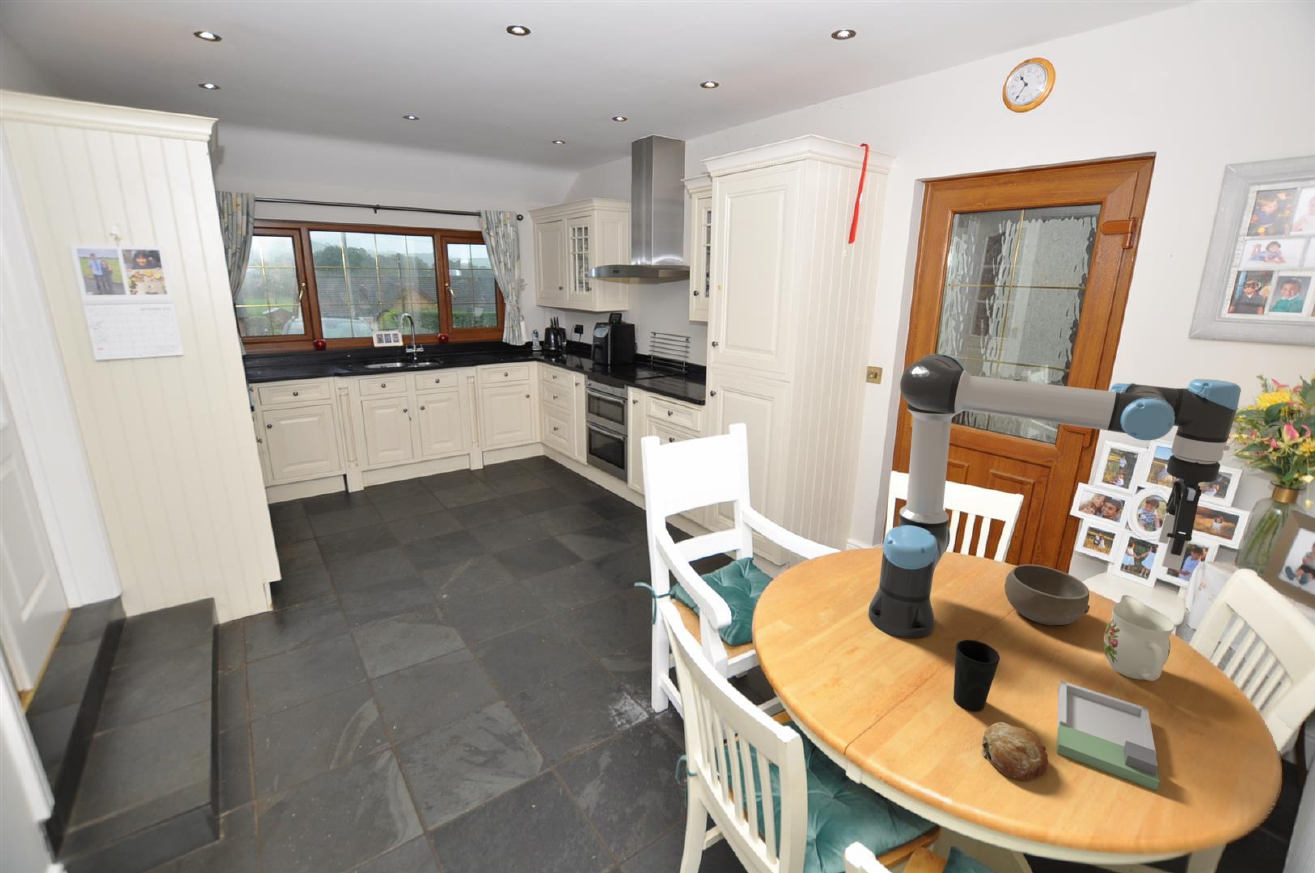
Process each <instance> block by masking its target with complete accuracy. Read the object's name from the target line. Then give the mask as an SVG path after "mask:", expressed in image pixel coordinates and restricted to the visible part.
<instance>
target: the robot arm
mask: <svg viewBox="0 0 1315 873" xmlns="http://www.w3.org/2000/svg"><path fill="white" fill-rule="evenodd" d="M899 384H900V385H899V386H900V387H899V389H900V392H901V395H902V397H903V399H904V400H905V402H907V408H906V409H907V411H908V412H909V413H910V414H911V415H912V416H913V419H912V430H911V442H910V443H911V444H910V454H909V456H910V457H909V468H908V481H907V492H906V494H907V495H906V504H905V505H904V506H902V507H901V508H900V509H899V515H898V516H899V517H898V526H895V527H892V528H891V529H889V530H888V531H887V533H886V534H885V537H884V540H883V544H882V559H881V568H880V574H879V575H880V576H879V583H878V584H879V585H878V588H877V591H876V592H875V594H874V596H873V597H872V600H871V601H870V603H869V606H868V619H869V620H870V622H871V623H872V624H873V625H874V626H875V627H877V628H878V629H879V630H881V631H883V632H885V633H887V634H889V635H892V636H895V637H899V638H906V639H922V638H926V637H928V636H930V634H932V633H933V631H934V626H935V616H934V612H933V606H932V602H931V592H932V586H933V579H934V573H935V570H936V568H937V566H938V564H939V562H940V561H941V559H942V557H943V555H944V554H945V552H946V551H947V549H948V548H949V545H950V542H951V530H950V527H949V520H950V517H949V516H950V515H949V513H948V512H947V511H946V510H944V503H945V492H946V481H947V472H948V470H947V469H948V463H949V462H948V461H949V460H948V459H949V450H950V449H949V448H950V439H951V430H952V428H951V427H952V419H953V418H954V417H956V415H959V414H961V413H962V412H964V411H965V412H972V413H980V414H986V415H987V414H988V415H993V416H1001V417H1009V418H1016V419H1024V420H1030V421H1031V420H1032V421H1037V422H1043V423H1051V424H1059V425H1066V426H1074V427H1080V428H1087V429H1094V430H1102V431H1109V432H1114V433H1121V434H1127V435H1128V436H1130V437H1132V438H1134V439H1136V440H1140V441H1147V442H1148V441H1156V440H1158V439H1162V438H1163V437H1165V436H1167V434H1169V433H1170V432H1171V430H1172V429H1173V428H1174V427H1177V430H1176V433H1175V436H1174V439H1173V442H1172V446H1171V450H1170V451H1171V453H1172V454H1171V455H1170V456H1169V459H1168V462H1167V466H1166V473H1167V474H1168V475H1170V476H1172V477H1175V481H1174V482H1173V484H1172V489H1171V492H1170V494H1169V497H1168V500H1167V503H1166V504H1165V506H1166V509H1165V511H1166V513H1164V518H1163V522H1162V526H1161V530H1160V532H1159V537H1158V543H1161V544H1166V545H1167V546H1166V549H1165V552H1164V557H1163V560H1162V564H1161V566H1162V568H1163V567H1164V568H1168V569H1172V570H1176V571H1181V569H1182V568H1181V567H1182V564H1183V561H1184V557H1185V554H1186V551H1187V546H1188V543H1189V542H1191V541H1192V540H1193V537H1192V536H1193V531H1194V527H1195V526H1194V525H1195V520H1196V515H1197V510H1198V506H1199V500H1200V497H1201V496H1202V489H1201V486H1200V485H1199V484H1200V483H1213V482H1215V481H1217V479H1218V478H1217V477H1218V475H1219V472H1220V469H1221V464H1220V461H1222V460H1223V457H1224V453H1225V452H1224V451H1230V445H1227V442H1228V439H1229V436H1230V433H1231V430H1232V428H1233V427H1232V426H1233V424H1234V420H1235V417H1236V413H1237V411H1238V409H1239V407H1238V406H1239V402H1240V398H1241V392H1242V388H1241V387H1240V385H1239V384H1237V383H1234V382H1231V381H1226V380H1219V379H1209V378H1208V379H1206V378H1205V379H1204V378H1197V379H1192V380H1190V382H1189V384H1188V386H1186V388H1183V387H1182V388H1180V387H1179V388H1175V387H1165V386H1156V385H1146V384H1139V383H1138V384H1136V383H1132V382H1131V383H1120V382H1119V383H1118V382H1117V383H1114V384H1112V385H1111V386H1110V388H1109V389H1110V390H1104V389H1103V390H1102V389H1092V388H1086V387H1085V388H1083V387H1074V386H1065V385H1057V384H1056V385H1055V384H1047V383H1039V382H1037V383H1036V382H1029V381H1023V380H1022V381H1021V380H1020V381H1019V380H1012V379H1003V378H994V377H986V376H975V375H971V374H970V373H969V372H968V371H967V370H966V369H965V367H964V365H963V364H962V363H961V362H960V360H959V359H957V358H956V357H954V356H952V355H949V354H946V353H945V354H944V353H935V354H934V353H933V354H932V353H931V354H928V355H925V356H924V357H922V358H921V359H920V360H917V361H915V362H914V363H912V364H910V365H909V366H908V367H907V368H906V369H905V370H904V372H903V373H902V375H901V379H900V382H899Z"/></svg>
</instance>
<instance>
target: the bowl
mask: <svg viewBox="0 0 1315 873" xmlns="http://www.w3.org/2000/svg"><path fill="white" fill-rule="evenodd" d="M1004 592H1005V596H1006V598H1007V601H1008V602H1009V604H1010V605H1011V607H1012V608H1013V609H1014V610H1015V611H1017V613H1019V614H1020V615H1022V616H1023V617H1025V618H1027V619H1029V620H1030V621H1032V622H1034V623H1037V624H1041V625H1046V626H1064V625H1065V626H1066V625H1069V624H1072V623H1075V622H1076V621H1078V619H1080V618H1081V617H1082V616H1083V615H1086V614H1088V613H1089V611H1090V607H1091V606H1090V605H1089V601H1090V590H1089V588H1088V586H1087V585H1086V584H1085V583H1084V582H1082V581H1081V580H1079V579H1078V578H1077V577H1075V576H1073V575H1071V574H1069V573H1066V572H1064V571H1061V570H1058V569H1055V568H1051V567H1048V566H1044V565H1039V564H1019V565H1017V566H1014V567H1013V568H1012V570H1011V571H1009V573H1008V574H1007V575H1006V577H1005V582H1004Z"/></svg>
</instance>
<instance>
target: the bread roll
mask: <svg viewBox="0 0 1315 873" xmlns="http://www.w3.org/2000/svg"><path fill="white" fill-rule="evenodd" d="M982 736H983V737H982V744H981V747H982V749H981V754H982V755H983V757H984V758H986V759H987V760H988V761H989V763H990V764H991V765H992V766H993V767H994V768H995V769H997V770H998V771H999V772H1000V773H1001V774H1003V775H1004V776H1005V777H1008V778H1010V779H1014V780H1017V781H1022V782H1030V781H1033V780H1035V779H1036V780H1037V779H1038V778H1040V777H1042V776H1043V775H1044V773H1046V772H1047V768H1048V765H1049V759H1048V754H1047V752H1046V751H1047V747H1046V746H1045V745H1044V744H1043V743H1042V742H1041V741H1040V739H1039V738H1038V737H1037V736H1036V735H1035V733H1033V732H1031V731H1028V730H1026V729H1025V728H1023V727H1017V726H1015V725H1012V724H1008V723H1006V722H1003V721H1001V722H995V723H992V724H991V725H989V726H988V727H987V729H986V730H985V731H984V734H983V735H982Z"/></svg>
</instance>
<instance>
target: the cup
mask: <svg viewBox="0 0 1315 873" xmlns="http://www.w3.org/2000/svg"><path fill="white" fill-rule="evenodd" d="M954 656H955V657H954V660H955V661H954V678H953V701H954V702H955V704H956V705H957V706H958V707H960V708H961V709H963V710H966V711H968V712H973V713H979V712H982V711H984V709H985V705H986V702H987V699H988V696H989V693H990V690H991V687H992V684H993V681H994V678H995V674H996V672H997V668H998V666H999V662H1000V659H1001V656H1000V654H999V652H998V651H997V650H996V649H995V648H993V647H992V646H991V645H989V644H987V643H984V641H983V642H982V641H979V640H976V639H962V640H959V641H957V643H956V644H955V655H954Z"/></svg>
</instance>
